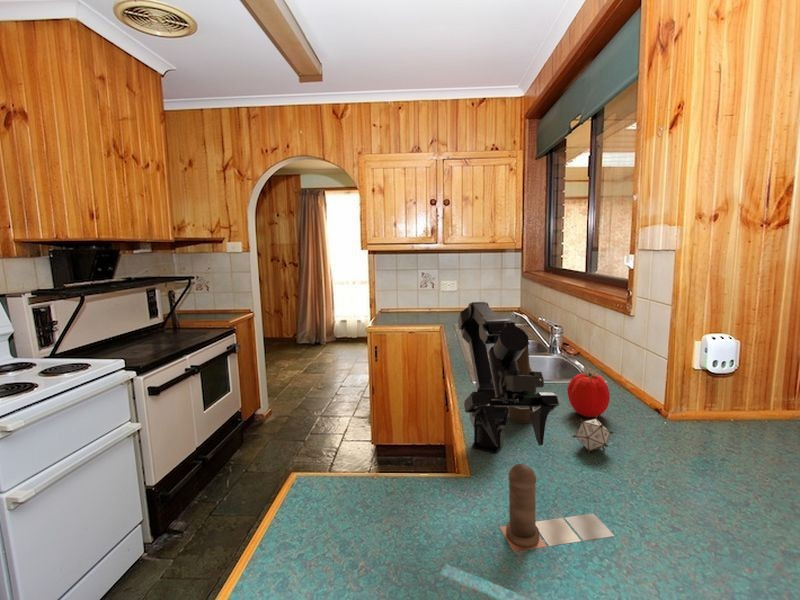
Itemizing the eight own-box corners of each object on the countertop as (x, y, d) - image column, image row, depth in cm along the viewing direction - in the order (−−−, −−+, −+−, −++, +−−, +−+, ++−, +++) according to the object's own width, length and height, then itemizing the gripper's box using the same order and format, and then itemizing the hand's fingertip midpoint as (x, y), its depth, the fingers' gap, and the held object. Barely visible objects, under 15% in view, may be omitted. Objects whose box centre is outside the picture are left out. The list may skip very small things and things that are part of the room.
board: (512, 567, 66) (513, 561, 66) (490, 525, 76) (490, 520, 76) (627, 549, 69) (628, 543, 69) (591, 511, 79) (591, 505, 79)
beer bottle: (535, 414, 122) (536, 337, 119) (534, 425, 115) (536, 344, 112) (508, 411, 125) (509, 336, 122) (506, 422, 118) (507, 342, 114)
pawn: (499, 534, 72) (498, 464, 70) (519, 520, 75) (518, 454, 74) (526, 552, 67) (525, 478, 66) (545, 537, 71) (545, 466, 69)
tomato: (610, 411, 123) (612, 369, 121) (606, 427, 113) (608, 382, 111) (570, 403, 129) (571, 364, 127) (562, 418, 119) (564, 375, 117)
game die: (599, 465, 101) (621, 447, 94) (566, 452, 102) (585, 433, 95) (598, 435, 107) (619, 416, 100) (567, 422, 108) (585, 403, 101)
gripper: (475, 354, 79) (488, 436, 71) (563, 356, 82) (585, 435, 74) (459, 375, 88) (469, 449, 80) (538, 376, 91) (555, 448, 83)
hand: (519, 445), depth 79 cm, fingers open, 9 cm apart
